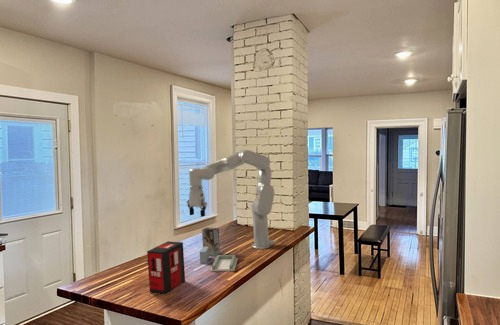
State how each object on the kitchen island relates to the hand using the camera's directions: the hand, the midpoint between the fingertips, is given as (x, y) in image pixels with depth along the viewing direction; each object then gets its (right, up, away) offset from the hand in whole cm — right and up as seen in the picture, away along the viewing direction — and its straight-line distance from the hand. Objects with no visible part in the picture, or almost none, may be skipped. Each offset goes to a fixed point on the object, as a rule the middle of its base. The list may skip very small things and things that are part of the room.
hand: (197, 215), depth 213 cm
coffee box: (+9, -25, +2) cm, 26 cm away
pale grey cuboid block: (+6, -25, -10) cm, 28 cm away
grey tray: (+18, -25, -20) cm, 37 cm away
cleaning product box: (-7, -28, -46) cm, 54 cm away
